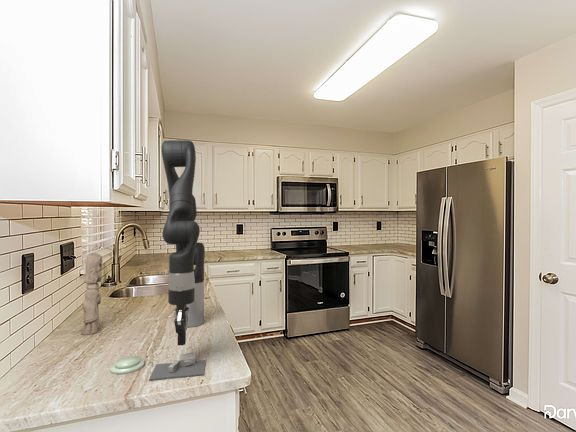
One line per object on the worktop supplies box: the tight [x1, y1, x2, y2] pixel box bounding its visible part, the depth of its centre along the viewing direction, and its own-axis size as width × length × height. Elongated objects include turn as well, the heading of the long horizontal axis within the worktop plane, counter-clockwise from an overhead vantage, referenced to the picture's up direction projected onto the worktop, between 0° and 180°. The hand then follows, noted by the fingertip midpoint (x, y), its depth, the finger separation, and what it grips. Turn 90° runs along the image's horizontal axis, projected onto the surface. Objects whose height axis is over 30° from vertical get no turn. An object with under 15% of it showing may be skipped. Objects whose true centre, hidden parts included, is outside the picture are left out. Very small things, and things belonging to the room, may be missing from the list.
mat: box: [148, 359, 206, 382], centre depth 90 cm, size 9×14×1 cm, turn 102°
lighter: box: [169, 352, 196, 373], centre depth 92 cm, size 7×2×8 cm
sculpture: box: [80, 252, 103, 336], centre depth 122 cm, size 7×7×30 cm
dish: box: [109, 355, 145, 375], centre depth 92 cm, size 9×9×2 cm
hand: (181, 344), depth 96 cm, fingers closed
